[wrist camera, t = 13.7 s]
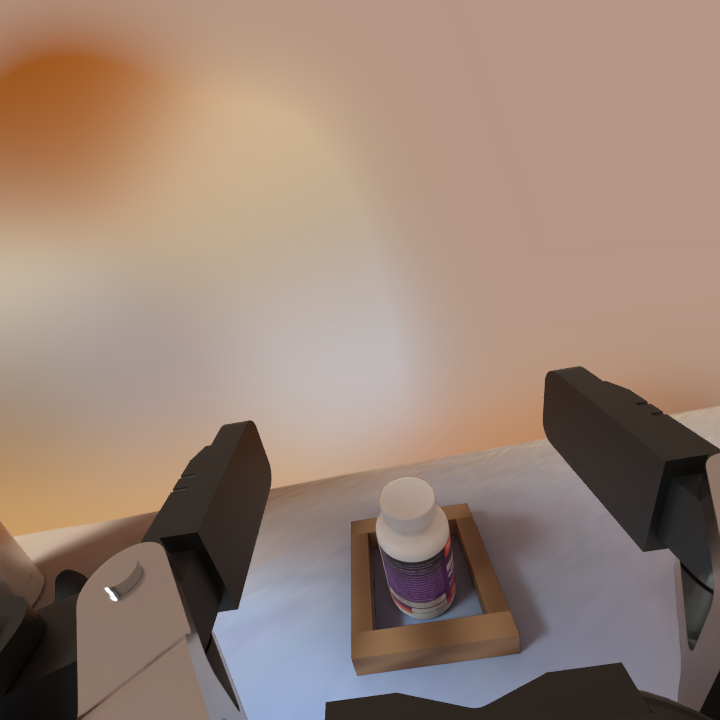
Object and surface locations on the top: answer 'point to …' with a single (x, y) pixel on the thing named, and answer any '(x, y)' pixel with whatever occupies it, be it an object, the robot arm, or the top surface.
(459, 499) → the top surface
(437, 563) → the pill bottle
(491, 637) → the socket block
